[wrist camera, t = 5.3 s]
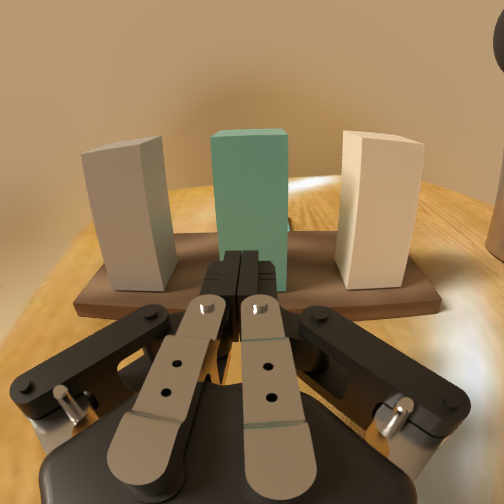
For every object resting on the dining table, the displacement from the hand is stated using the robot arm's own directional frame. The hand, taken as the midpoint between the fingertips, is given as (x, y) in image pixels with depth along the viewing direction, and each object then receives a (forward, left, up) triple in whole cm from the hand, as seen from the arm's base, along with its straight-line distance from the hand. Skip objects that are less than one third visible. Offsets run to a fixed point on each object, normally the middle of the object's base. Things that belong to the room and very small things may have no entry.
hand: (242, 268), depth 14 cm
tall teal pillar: (-9, -5, -7) cm, 12 cm away
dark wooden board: (-11, -6, -9) cm, 15 cm away
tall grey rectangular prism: (-4, -14, -7) cm, 16 cm away
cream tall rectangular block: (-14, +4, -7) cm, 16 cm away
